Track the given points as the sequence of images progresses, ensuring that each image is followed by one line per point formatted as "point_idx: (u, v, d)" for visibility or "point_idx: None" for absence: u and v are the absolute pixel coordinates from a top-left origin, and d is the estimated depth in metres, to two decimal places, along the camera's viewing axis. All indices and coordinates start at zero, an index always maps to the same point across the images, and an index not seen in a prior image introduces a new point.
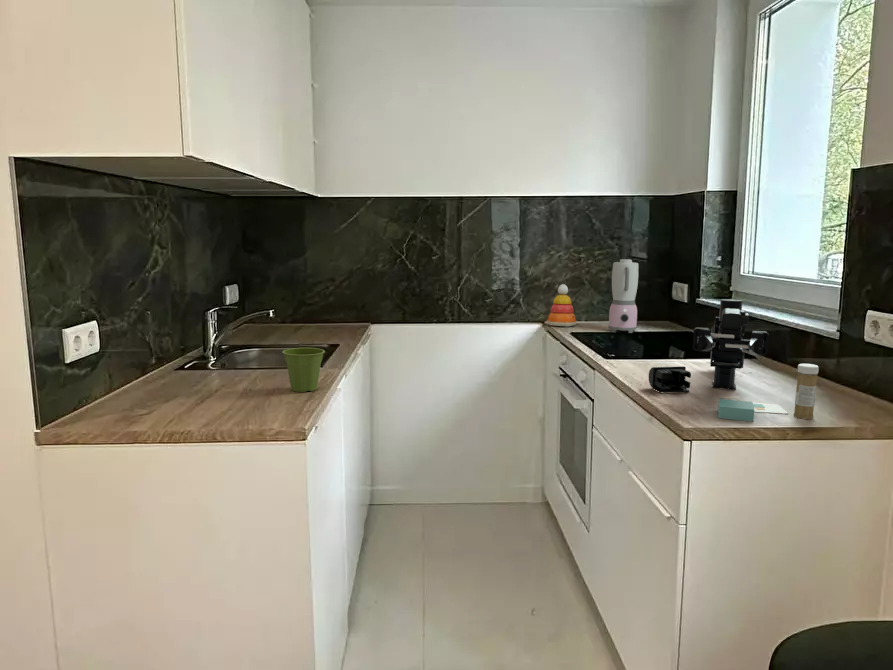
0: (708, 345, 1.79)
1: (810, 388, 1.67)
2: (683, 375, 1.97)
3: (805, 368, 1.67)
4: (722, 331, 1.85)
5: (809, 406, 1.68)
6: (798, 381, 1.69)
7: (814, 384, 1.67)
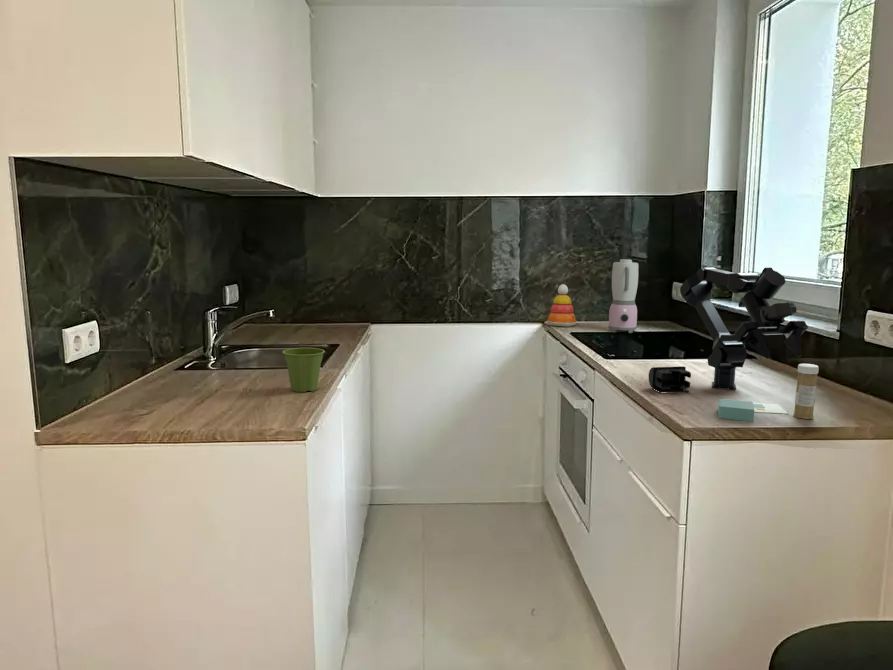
0: (762, 352, 1.76)
1: (810, 388, 1.67)
2: (683, 375, 1.97)
3: (805, 368, 1.67)
4: (767, 322, 1.79)
5: (809, 406, 1.68)
6: (798, 381, 1.69)
7: (814, 384, 1.67)
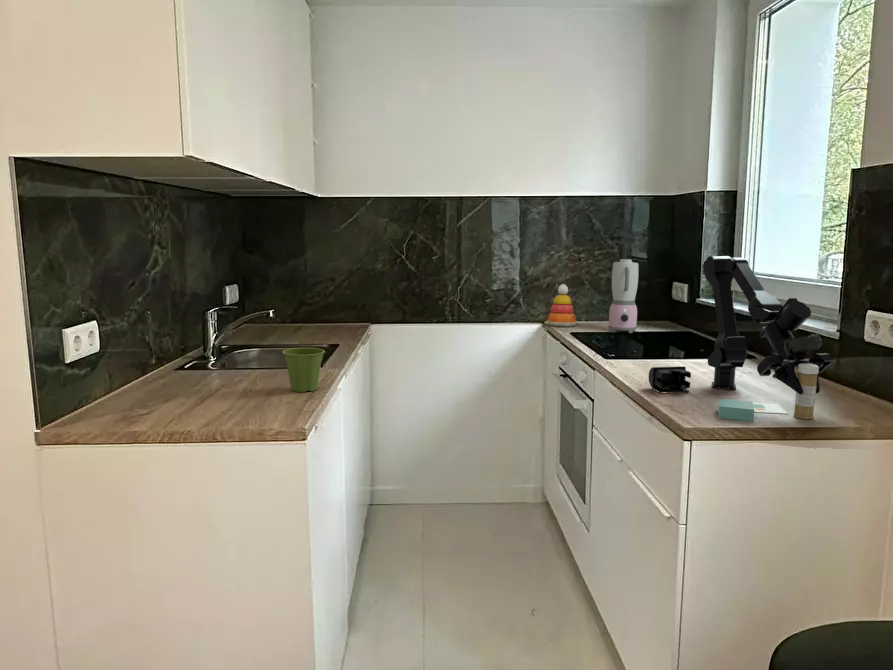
0: (794, 387, 1.69)
1: (810, 388, 1.67)
2: (683, 375, 1.97)
3: (805, 368, 1.67)
4: (791, 356, 1.71)
5: (809, 406, 1.68)
6: None
7: (814, 384, 1.67)
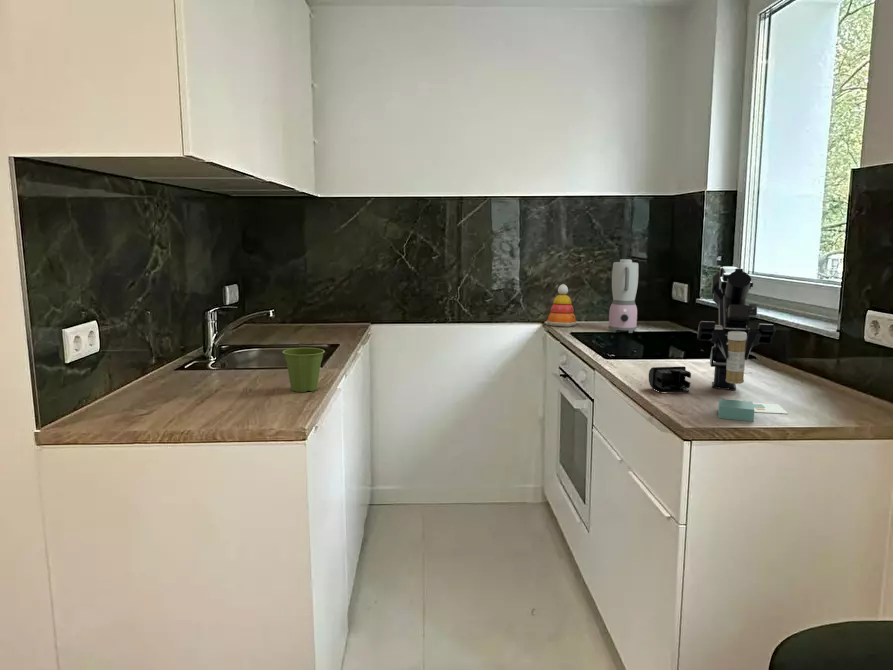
0: (723, 352, 1.79)
1: (734, 354, 1.76)
2: (683, 375, 1.97)
3: (729, 334, 1.76)
4: (728, 323, 1.80)
5: (734, 371, 1.76)
6: None
7: (739, 350, 1.75)
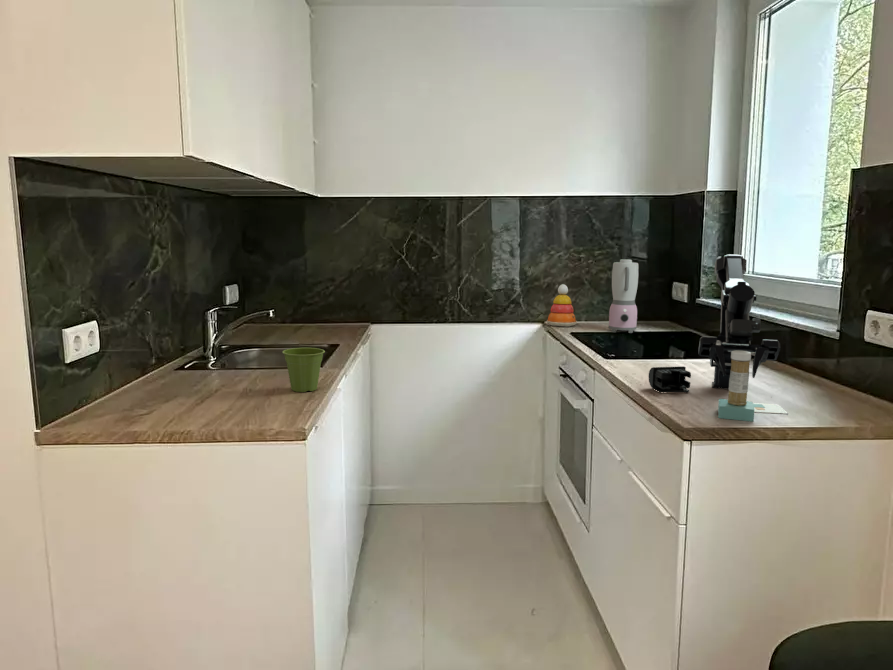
0: (721, 369, 1.71)
1: (738, 374, 1.68)
2: (683, 375, 1.97)
3: (733, 354, 1.68)
4: (730, 339, 1.72)
5: (737, 392, 1.69)
6: None
7: (742, 370, 1.67)
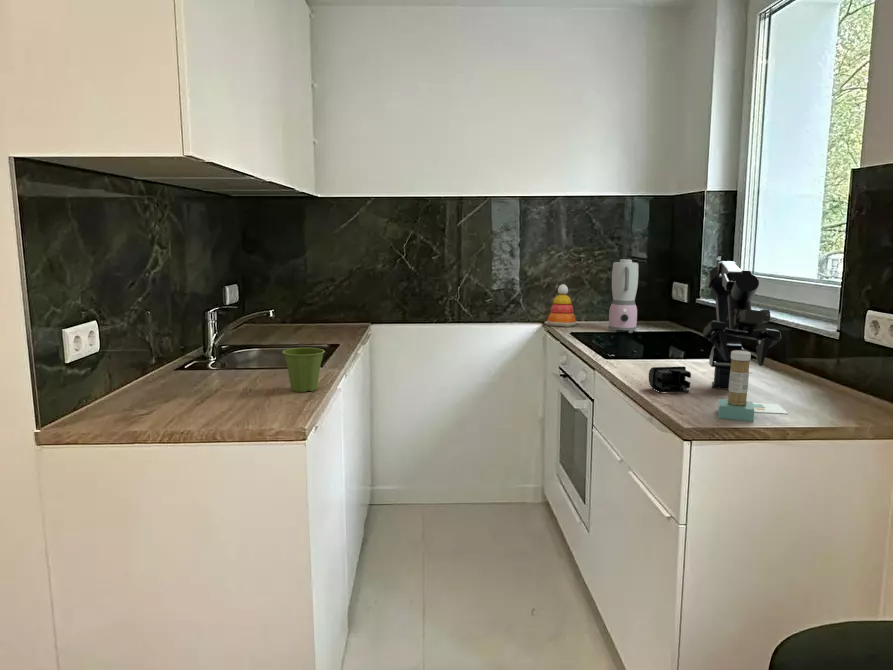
0: (722, 353, 1.78)
1: (738, 374, 1.68)
2: (683, 375, 1.97)
3: (733, 354, 1.68)
4: (738, 325, 1.79)
5: (737, 392, 1.69)
6: None
7: (742, 371, 1.67)
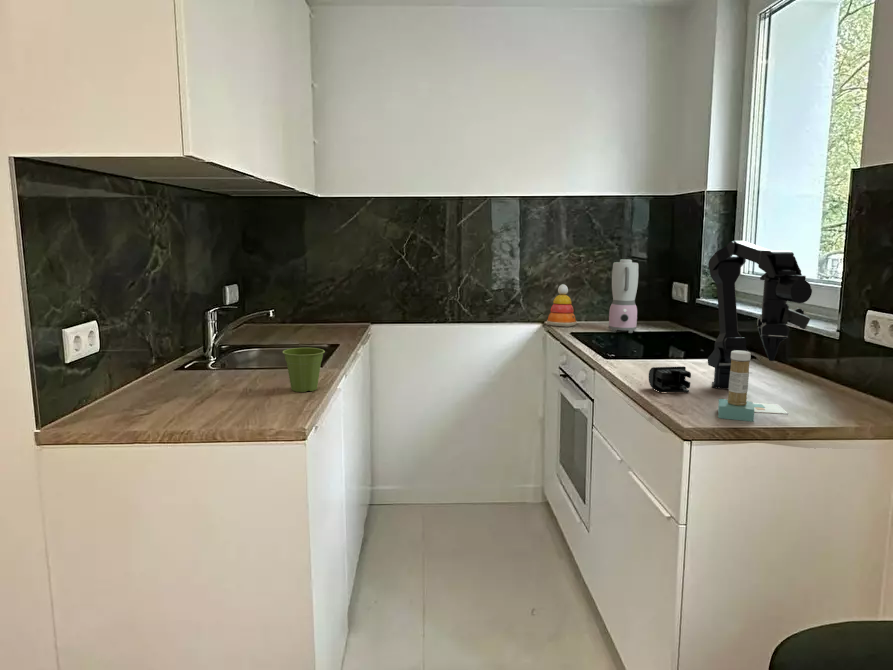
0: (770, 353, 1.74)
1: (738, 374, 1.68)
2: (683, 375, 1.97)
3: (733, 354, 1.68)
4: (783, 323, 1.75)
5: (737, 392, 1.69)
6: None
7: (742, 371, 1.67)
